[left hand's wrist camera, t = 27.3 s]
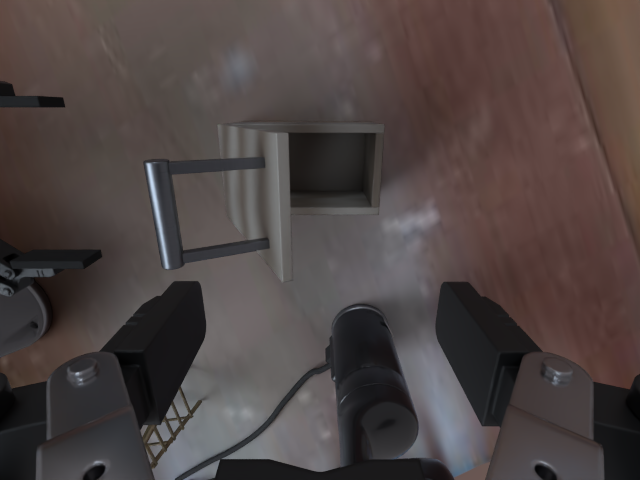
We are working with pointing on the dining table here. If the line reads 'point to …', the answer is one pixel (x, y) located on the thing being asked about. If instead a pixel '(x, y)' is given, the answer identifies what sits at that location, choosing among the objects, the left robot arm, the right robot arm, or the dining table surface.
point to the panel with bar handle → (232, 198)
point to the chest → (332, 165)
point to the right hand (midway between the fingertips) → (74, 186)
